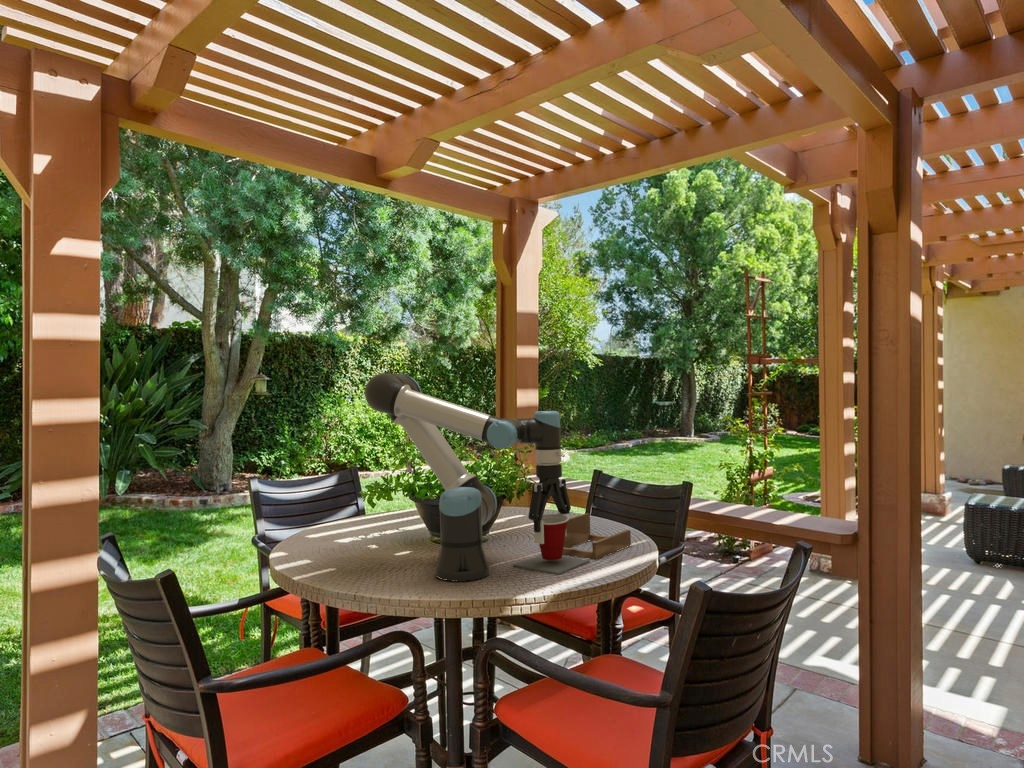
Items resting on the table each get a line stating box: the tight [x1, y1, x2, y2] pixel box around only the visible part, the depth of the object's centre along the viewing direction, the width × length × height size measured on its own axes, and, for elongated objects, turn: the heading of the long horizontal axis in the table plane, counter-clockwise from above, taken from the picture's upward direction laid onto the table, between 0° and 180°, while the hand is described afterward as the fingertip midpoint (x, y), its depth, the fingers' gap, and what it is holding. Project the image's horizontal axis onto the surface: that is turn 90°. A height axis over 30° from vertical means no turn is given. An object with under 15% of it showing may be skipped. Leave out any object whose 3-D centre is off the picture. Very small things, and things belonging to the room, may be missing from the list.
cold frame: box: [562, 513, 632, 560], centre depth 208 cm, size 16×21×9 cm
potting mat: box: [512, 554, 591, 576], centre depth 190 cm, size 16×16×1 cm
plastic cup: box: [532, 513, 570, 560], centre depth 190 cm, size 11×11×12 cm
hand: (551, 539), depth 190 cm, fingers closed on plastic cup, 11 cm apart
